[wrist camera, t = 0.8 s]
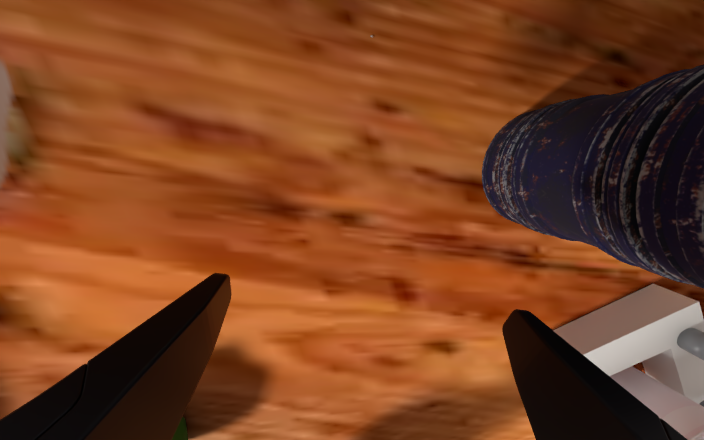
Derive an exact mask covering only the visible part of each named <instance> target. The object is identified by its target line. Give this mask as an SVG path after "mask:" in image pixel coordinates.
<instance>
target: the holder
mask: <svg viewBox="0 0 704 440" xmlns="http://www.w3.org/2000/svg"><path fill="white" fill-rule="evenodd" d="M553 331H554V332H555V333H557V334H558V335H559V336H560V337H562V338H563V339H564V340H565V341H566V342H568V343H569V344H570V345H571V346H573V347H574V348H575V349H576V350H578V351H579V352H580V353H581V354H583V355H584V356H585V357H586V358H587V359H589V360H590V361H591V362H592V363H594V364H595V365H596V366H597V367H599V368H600V369H601V370H602V371H604V372H605V373H606V374H607V375H608V376H611V375H613V374H615V373H618V372H620V371H622V370H624V369H627V368H629V367H631V366H633V365H635V364H638V363H640V362H642V364H643V367H644V370H645V373H646V374H647V375H648V376H650V377H652V378H654V379H655V380H657V381H659V382H661V383H663V384H664V385H666V386H668V387H670V388H671V389H673V390H675V391H677V392H678V393H680V394H682V395H684V396H685V397H687V398H689V399H691V400H693V401H694V402H696V403H698V404H700V405H701V406H703V407H704V319H703V315H702V311H701V307H700V303H699V301H696V300H694V299H691V298H689V297H686V296H684V295H681V294H679V293H676V292H673V291H671V290H668V289H666V288H663V287H661V286H658V285H656V284H651V285H649V286H647V287H645V288H643V289H641V290H638V291H636V292H634V293H632V294H630V295H628V296H626V297H623V298H621V299H619V300H617V301H615V302H613V303H611V304H608V305H606V306H604V307H602V308H600V309H598V310H596V311H593V312H591V313H589V314H587V315H585V316H583V317H581V318H578V319H576V320H574V321H572V322H570V323H568V324H566V325H563V326H561V327H559V328H557V329H555V330H553Z"/></svg>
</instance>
